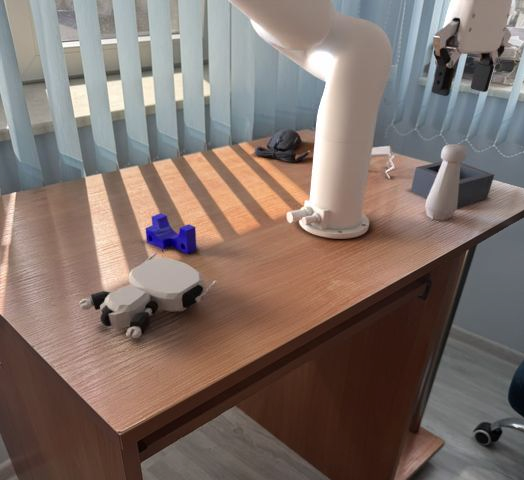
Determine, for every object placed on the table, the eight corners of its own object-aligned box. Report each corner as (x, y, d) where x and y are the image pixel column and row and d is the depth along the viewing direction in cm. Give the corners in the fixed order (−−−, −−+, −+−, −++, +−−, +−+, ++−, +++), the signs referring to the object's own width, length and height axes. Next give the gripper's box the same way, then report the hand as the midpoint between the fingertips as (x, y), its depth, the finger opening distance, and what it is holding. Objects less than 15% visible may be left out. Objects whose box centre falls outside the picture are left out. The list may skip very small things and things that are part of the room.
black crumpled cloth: (327, 147, 132) (328, 130, 130) (296, 165, 120) (297, 147, 117) (284, 139, 137) (285, 123, 134) (250, 156, 124) (250, 138, 122)
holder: (452, 209, 102) (458, 183, 99) (410, 191, 109) (415, 167, 106) (487, 198, 107) (494, 174, 104) (445, 182, 114) (451, 159, 111)
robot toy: (138, 359, 63) (222, 302, 72) (131, 330, 60) (220, 274, 69) (77, 321, 69) (162, 272, 78) (69, 292, 66) (157, 246, 75)
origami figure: (389, 183, 112) (393, 160, 109) (352, 176, 115) (355, 153, 112) (404, 168, 121) (408, 146, 118) (369, 161, 124) (373, 140, 121)
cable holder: (147, 242, 86) (144, 219, 84) (162, 235, 88) (160, 213, 86) (180, 257, 82) (179, 233, 80) (196, 249, 85) (195, 226, 82)
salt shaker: (451, 211, 101) (469, 142, 93) (456, 223, 97) (476, 152, 89) (420, 209, 101) (436, 140, 94) (424, 221, 97) (441, 149, 89)
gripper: (506, -34, 83) (474, 84, 93) (432, -39, 75) (406, 91, 85) (549, -32, 78) (510, 93, 88) (474, -37, 70) (441, 101, 80)
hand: (459, 92), depth 87 cm, fingers open, 9 cm apart
